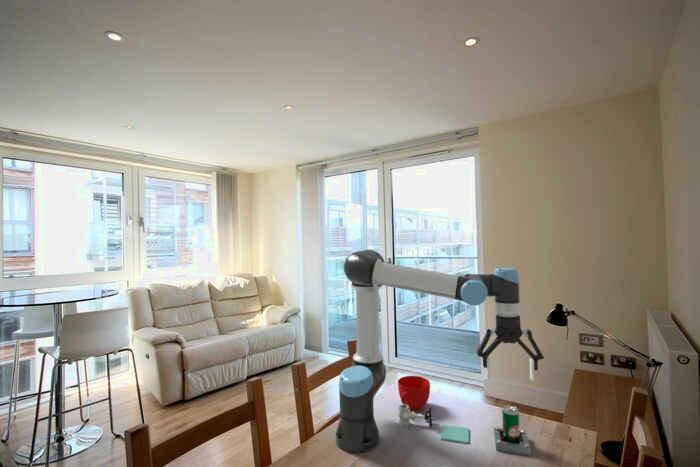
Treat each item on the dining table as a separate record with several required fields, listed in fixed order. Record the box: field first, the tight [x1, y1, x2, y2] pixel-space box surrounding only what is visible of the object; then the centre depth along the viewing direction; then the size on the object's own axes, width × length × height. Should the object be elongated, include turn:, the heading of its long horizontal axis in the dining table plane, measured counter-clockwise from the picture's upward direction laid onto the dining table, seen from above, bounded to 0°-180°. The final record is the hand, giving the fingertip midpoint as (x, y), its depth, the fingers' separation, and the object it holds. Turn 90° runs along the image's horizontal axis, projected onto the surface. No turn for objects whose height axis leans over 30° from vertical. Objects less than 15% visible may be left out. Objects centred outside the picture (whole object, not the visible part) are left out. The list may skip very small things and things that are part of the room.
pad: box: [440, 424, 470, 445], centre depth 125 cm, size 9×9×1 cm
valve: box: [398, 403, 433, 428], centre depth 132 cm, size 7×7×12 cm
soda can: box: [501, 404, 521, 444], centre depth 119 cm, size 5×5×12 cm
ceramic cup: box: [397, 375, 431, 411], centre depth 145 cm, size 13×17×10 cm
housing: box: [493, 426, 532, 457], centre depth 119 cm, size 10×10×3 cm
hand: (510, 378), depth 119 cm, fingers open, 13 cm apart
